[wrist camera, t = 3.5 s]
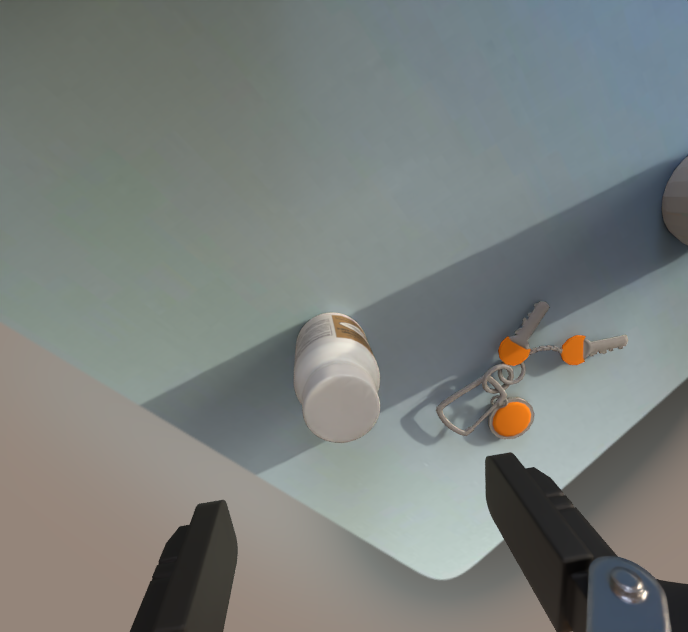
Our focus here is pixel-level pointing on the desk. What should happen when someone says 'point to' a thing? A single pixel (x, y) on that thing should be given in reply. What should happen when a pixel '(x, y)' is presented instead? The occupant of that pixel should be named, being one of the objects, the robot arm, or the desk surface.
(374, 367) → the pill bottle
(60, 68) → the desk surface
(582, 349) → the key chain
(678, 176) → the coffee cup
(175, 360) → the desk surface
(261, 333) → the desk surface
